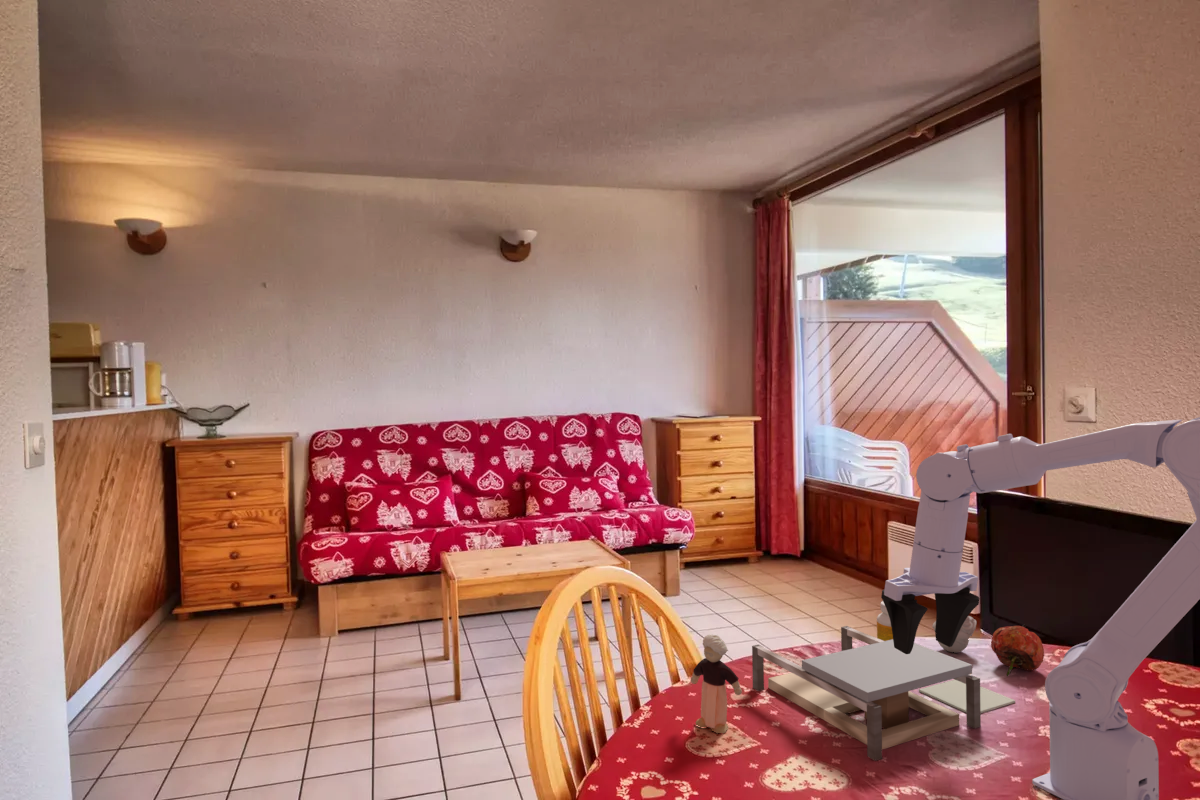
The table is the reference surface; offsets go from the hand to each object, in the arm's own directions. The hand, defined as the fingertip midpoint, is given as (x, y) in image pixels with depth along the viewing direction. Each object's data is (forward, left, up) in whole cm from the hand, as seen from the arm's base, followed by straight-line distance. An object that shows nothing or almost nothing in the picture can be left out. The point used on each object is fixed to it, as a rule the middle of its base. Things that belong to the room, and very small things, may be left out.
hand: (923, 646), depth 92 cm
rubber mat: (+6, -16, -12) cm, 21 cm away
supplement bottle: (+21, -18, -12) cm, 31 cm away
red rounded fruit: (+9, -32, -13) cm, 36 cm away
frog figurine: (+19, -30, -12) cm, 38 cm away
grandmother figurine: (+15, +22, -12) cm, 29 cm away
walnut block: (+6, 0, -12) cm, 14 cm away
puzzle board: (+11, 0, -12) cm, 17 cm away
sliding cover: (+6, 0, -5) cm, 8 cm away
